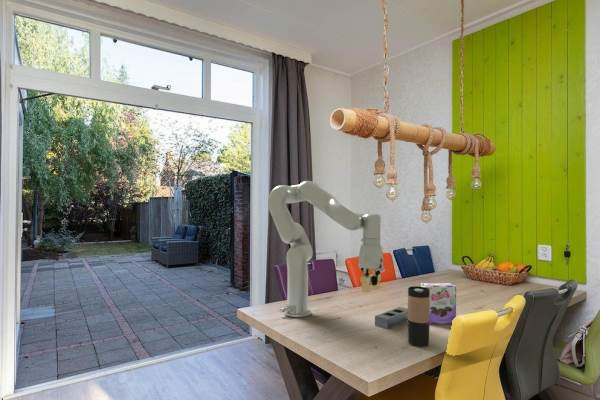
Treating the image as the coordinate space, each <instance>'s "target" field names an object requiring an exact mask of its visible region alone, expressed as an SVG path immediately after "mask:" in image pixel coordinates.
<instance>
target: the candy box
mask: <svg viewBox="0 0 600 400" xmlns="http://www.w3.org/2000/svg"><path fill="white" fill-rule="evenodd" d="M419 285H420V286H419V287H425V288H428V289H429V290H430V325H453V324H452V320H453V319H454V318H455V317H456V318H457V286H456V285H455V284H453V283H450V282H447V283H446V282H444V283H443V282H441V283H439V282H437V283H434V282H433V283H427V282H426V283H424V282H420V284H419Z"/></svg>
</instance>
